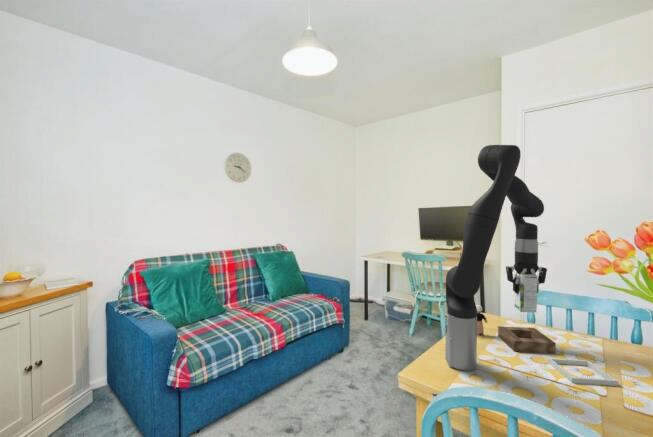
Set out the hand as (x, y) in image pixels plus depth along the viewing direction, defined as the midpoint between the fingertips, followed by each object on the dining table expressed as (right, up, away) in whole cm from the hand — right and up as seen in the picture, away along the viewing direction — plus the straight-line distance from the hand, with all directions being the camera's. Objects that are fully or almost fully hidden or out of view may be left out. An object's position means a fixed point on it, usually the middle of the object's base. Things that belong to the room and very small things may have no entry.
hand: (525, 293), depth 116 cm
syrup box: (0, -7, 0) cm, 7 cm away
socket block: (0, -20, +1) cm, 20 cm away
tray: (+4, -21, -20) cm, 29 cm away
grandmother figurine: (-14, -20, +10) cm, 26 cm away
